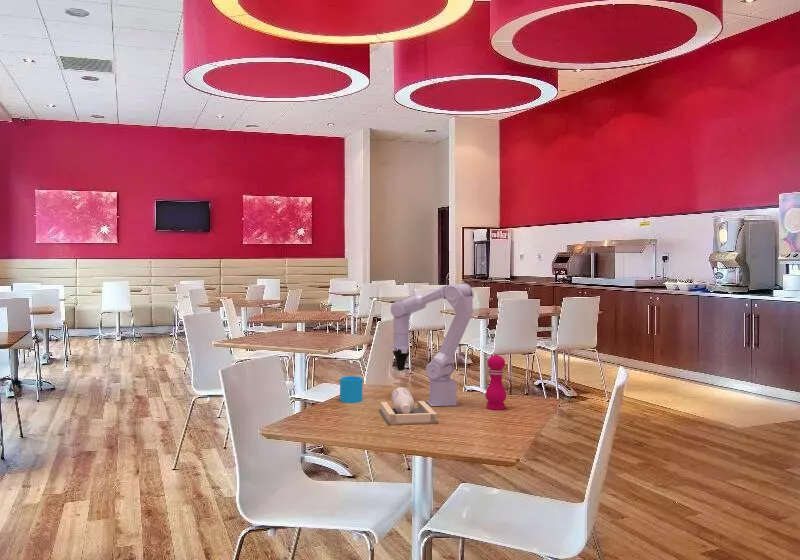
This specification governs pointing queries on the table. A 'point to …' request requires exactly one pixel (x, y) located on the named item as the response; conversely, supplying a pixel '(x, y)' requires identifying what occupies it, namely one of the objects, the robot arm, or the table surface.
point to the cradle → (408, 415)
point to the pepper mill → (496, 383)
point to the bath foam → (402, 401)
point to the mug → (351, 389)
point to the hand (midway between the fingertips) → (400, 370)
